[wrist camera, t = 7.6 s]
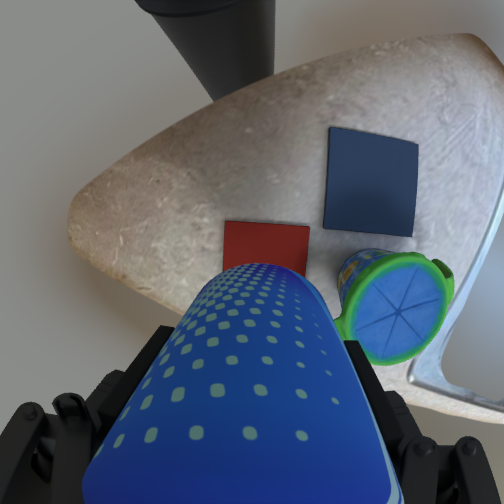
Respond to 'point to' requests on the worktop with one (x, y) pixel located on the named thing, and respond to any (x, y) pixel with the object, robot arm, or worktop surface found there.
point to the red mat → (266, 245)
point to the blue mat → (370, 183)
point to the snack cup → (392, 303)
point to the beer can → (247, 407)
